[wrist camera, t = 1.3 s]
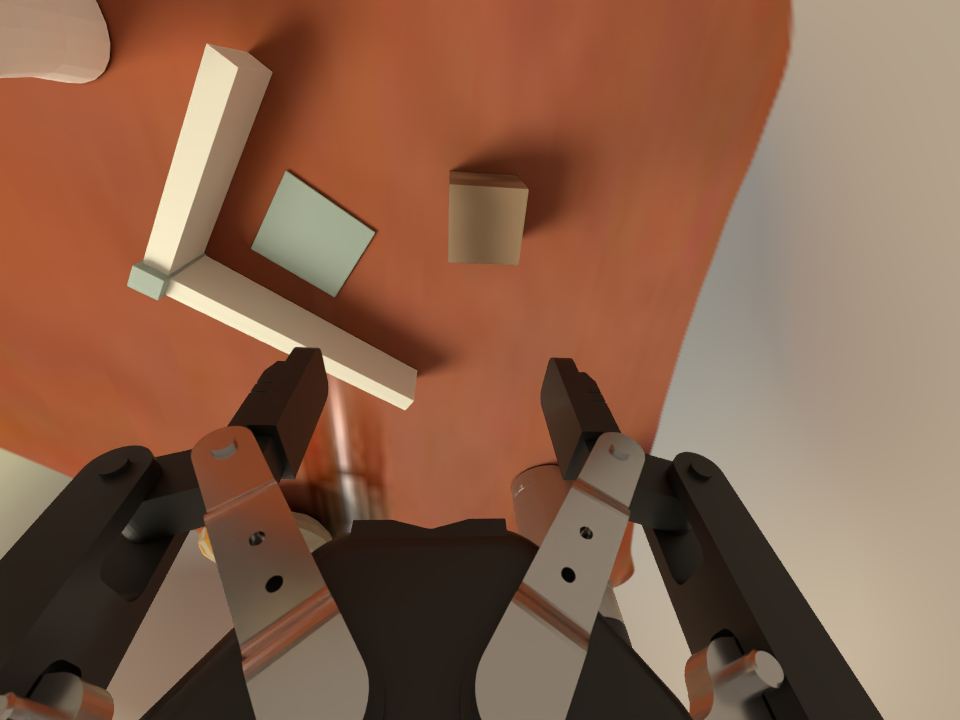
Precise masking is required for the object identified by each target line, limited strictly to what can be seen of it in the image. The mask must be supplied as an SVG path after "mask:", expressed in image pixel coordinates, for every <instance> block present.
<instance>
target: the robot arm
mask: <svg viewBox="0 0 960 720" xmlns="http://www.w3.org/2000/svg"><path fill="white" fill-rule="evenodd" d="M327 396H328V380H327V375H326V370H325V366H324V361H323V356H322V352H321V349H320V348H312V347H295V348H293V350H292V351H291V353H290V355H289V356H288V358H287V360H286V361H277V362H276V363H274V364H273V365H272V366H270V367H269V368H267V369H266V370H265V371H264V372H263V374H262V375H261V377H260V378H259V380H258V381H257V384H255V386H254V387H253V389H252V390H251V393H249V395H248V396H247V398H246V399H245V401H244V402H243V404H242V405H241V407H240V408H239V410H238V411H237V413H236V414H235V416H234V417H233V419H232V420H231V422H230V423H229V425H228V426H227V427H224V428H221V429H217V430H215V431H213V432H211V433H209V434H207V435H206V436H204V437H203V438H202V439H200V440H199V441H198V442H197V443H196V444H195V446H194V447H193V449H190V450H187V451H182V452H177V453H173V454H168V455H164V456H159V457H154V455H153V454H152V452H151V451H150V450H149V449H148V448H146V447H143V446H126V447H121V448H117V449H114V450H111V451H109V452H107V453H104V454H102V455H100V456H99V457H97V458H95V459H94V460H92V461H91V462H89V463H88V464H87V465H86V466H85V467H84V468H83V469H82V470H81V471H80V472H79V473H78V474H77V475H76V476H75V477H74V479H73V480H72V481H71V482H70V483H69V484H68V485H67V486H66V488H65V489H64V490H63V491H62V492H61V493H60V494H59V495H58V496H57V498H56V499H55V500H54V501H53V502H52V503H51V504H50V505H49V506H48V508H47V509H46V510H45V511H44V512H43V513H42V514H41V515H40V516H39V518H38V519H37V520H36V521H35V522H34V523H33V524H32V525H31V526H30V528H29V529H28V530H27V531H26V532H25V533H24V534H23V535H22V536H21V538H20V539H19V540H18V541H17V542H16V543H15V544H14V545H13V547H12V548H11V549H10V550H9V551H8V552H7V553H6V555H4V557H3V558H2V559H1V560H0V720H112V717H113V713H114V703H113V698H112V696H111V694H110V693H109V692H108V691H106V689H107V687H108V685H109V683H110V681H111V679H112V677H113V676H114V674H115V672H116V670H117V668H118V666H119V664H120V662H121V660H122V659H123V657H124V655H125V653H126V651H127V649H128V647H129V645H130V643H131V642H132V640H133V638H134V636H135V634H136V632H137V630H138V628H139V626H140V624H141V623H142V621H143V619H144V617H145V615H146V613H147V611H148V609H149V607H150V605H151V604H152V602H153V600H154V598H155V596H156V594H157V592H158V590H159V588H160V587H161V585H162V583H163V581H164V579H165V577H166V575H167V573H168V571H169V569H170V567H171V566H172V564H173V562H174V560H175V558H176V556H177V554H178V552H179V550H180V548H181V547H182V545H183V543H184V541H185V539H186V537H187V535H188V533H189V532H190V530H194V529H197V528H201V527H204V526H206V529H207V533H208V536H209V540H210V543H211V547H212V550H213V554H214V557H215V561H216V564H217V568H218V572H219V575H220V579H221V582H222V586H223V589H224V593H225V596H226V600H227V602H228V606H229V610H230V614H231V617H232V621H233V624H234V628H233V629H231V630H230V632H228V634H226V635H225V636H224V637H223V638H222V639H221V640H220V641H219V642H218V643H217V644H216V645H215V646H214V647H213V648H212V649H211V650H210V651H209V652H208V653H207V654H206V655H205V656H204V657H203V658H202V659H201V660H200V661H199V662H198V663H197V664H196V665H195V666H194V667H193V668H191V669H190V670H189V672H187V673H186V674H185V675H184V676H183V677H182V678H181V679H180V680H179V681H178V682H177V683H176V684H175V685H174V686H173V687H172V688H171V689H170V690H169V691H168V692H167V693H166V694H165V695H164V696H163V697H162V698H161V699H160V700H159V701H158V702H157V703H156V704H155V705H154V706H152V707H151V708H150V709H149V710H148V711H147V713H145V714H144V715H143V716H142V717H141V718H140V719H139V720H884V719H883V718H882V716H881V714H880V713H879V711H878V710H877V708H876V707H875V706H874V704H873V702H872V701H871V699H870V698H869V696H868V694H867V693H866V691H865V690H864V688H863V687H862V685H861V684H860V682H859V681H858V679H857V678H856V676H855V675H854V673H853V671H852V670H851V668H850V667H849V665H848V664H847V662H846V661H845V659H844V658H843V656H842V655H841V653H840V652H839V650H838V648H837V647H836V645H835V644H834V642H833V641H832V639H831V638H830V636H829V635H828V633H827V632H826V630H825V629H824V627H823V625H822V624H821V622H820V621H819V619H818V618H817V616H816V615H815V613H814V612H813V610H812V609H811V608H810V606H809V604H808V602H807V601H806V599H805V598H804V597H803V595H802V593H801V592H800V590H799V589H798V587H797V586H796V584H795V583H794V581H793V580H792V578H791V576H790V575H789V573H788V572H787V570H786V569H785V567H784V566H783V564H782V563H781V561H780V560H779V558H778V557H777V555H776V554H775V552H774V550H773V549H772V547H771V546H770V544H769V543H768V541H767V540H766V538H765V537H764V535H763V534H762V532H761V530H760V529H759V527H758V526H757V524H756V523H755V521H754V520H753V518H752V517H751V515H750V514H749V512H748V511H747V509H746V507H745V506H744V504H743V503H742V501H741V500H740V498H739V497H738V495H737V494H736V492H735V491H734V489H733V488H732V486H731V485H730V483H729V481H728V480H727V478H726V477H725V475H724V474H723V472H722V471H721V470H720V469H719V467H718V466H717V465H715V464H714V463H713V462H712V461H710V460H709V459H707V458H705V457H703V456H701V455H699V454H696V453H691V452H683V453H680V454H678V455H676V457H675V458H674V460H673V461H669V460H665V459H662V458H658V457H655V456H651V455H648V454H645V453H644V451H643V449H642V448H641V446H640V445H639V444H638V443H637V442H636V441H635V440H633V439H632V438H630V437H628V436H626V435H624V434H621V432H620V430H619V428H618V426H617V424H616V422H615V420H614V418H613V416H612V414H611V412H610V410H609V408H608V406H607V404H606V403H605V400H604V398H603V396H602V394H601V392H600V390H599V388H598V386H597V384H596V382H595V381H594V380H593V379H592V378H591V377H590V376H589V375H588V374H586V373H585V372H578V369H577V367H576V365H575V363H574V361H573V359H571V358H550V360H549V362H548V366H547V370H546V374H545V378H544V381H543V385H542V389H541V406H542V409H543V413H544V416H545V420H546V423H547V427H548V430H549V433H550V437H551V440H552V444H553V447H554V451H555V454H556V457H557V461H558V464H559V466H556V465H545V466H538V467H535V468H532V469H529V470H527V471H525V472H523V473H522V474H520V475H519V476H518V477H517V478H516V479H515V480H514V482H513V484H512V486H511V492H512V498H513V504H514V511H515V518H516V525H517V531H518V534H517V533H514V532H512V531H508V530H507V529H506V521H505V519H467V520H464V521H460V522H456V523H452V524H449V525H445V526H441V527H438V528H434V529H427V528H423V527H419V526H415V525H411V524H407V523H403V522H399V521H395V520H353V525H352V529H351V533H348V534H344V535H342V536H339V537H337V538H334V539H332V540H330V541H328V542H326V543H325V544H323V545H322V546H320V547H318V548H317V549H315V550H314V551H313V552H312V553H311V552H310V550H309V548H308V546H307V544H306V542H305V540H304V537H303V535H302V533H301V531H300V529H299V527H298V525H297V523H296V521H295V519H294V517H293V514H292V512H291V510H290V508H289V506H288V504H287V502H286V500H285V498H284V496H283V494H282V491H281V489H280V487H279V482H280V480H281V479H295V477H296V474H297V472H298V470H299V467H300V465H301V462H302V460H303V457H304V455H305V452H306V450H307V447H308V445H309V442H310V440H311V437H312V435H313V432H314V430H315V427H316V425H317V422H318V420H319V417H320V415H321V412H322V410H323V407H324V405H325V402H326V400H327ZM628 521H631V522H634V523H638V524H641V525H642V527H643V529H644V532H645V534H646V537H647V540H648V542H649V545H650V547H651V550H652V552H653V555H654V558H655V560H656V563H657V566H658V568H659V571H660V573H661V576H662V578H663V581H664V584H665V586H666V589H667V592H668V594H669V597H670V599H671V602H672V605H673V607H674V610H675V612H676V615H677V617H678V620H679V623H680V625H681V628H682V631H683V633H684V636H685V638H686V641H687V644H688V646H689V649H690V651H691V654H692V656H691V657H690V658H689V659H688V661H687V663H686V666H685V682H686V686H687V690H688V697H689V701H690V713H689V712H688V711H687V710H686V708H685V707H684V706H683V704H682V703H681V702H680V700H679V699H678V698H677V697H676V696H675V695H674V694H673V692H672V691H671V690H670V689H669V688H668V687H667V686H666V685H665V684H664V682H662V680H661V679H660V678H659V677H658V676H657V675H656V674H655V673H654V671H653V670H652V669H651V668H650V667H649V666H648V665H647V664H646V663H645V662H644V660H643V659H642V658H641V657H640V656H639V655H638V654H637V653H636V652H635V651H634V649H633V648H632V646H631V642H630V639H629V636H628V633H627V630H626V627H625V624H624V621H623V618H622V615H621V612H620V609H619V606H618V603H617V600H616V597H615V594H614V591H613V588H612V585H611V582H610V579H609V577H610V574H611V571H612V568H613V565H614V562H615V559H616V556H617V553H618V550H619V547H620V544H621V541H622V538H623V535H624V532H625V529H626V526H627V523H628Z"/></svg>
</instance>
